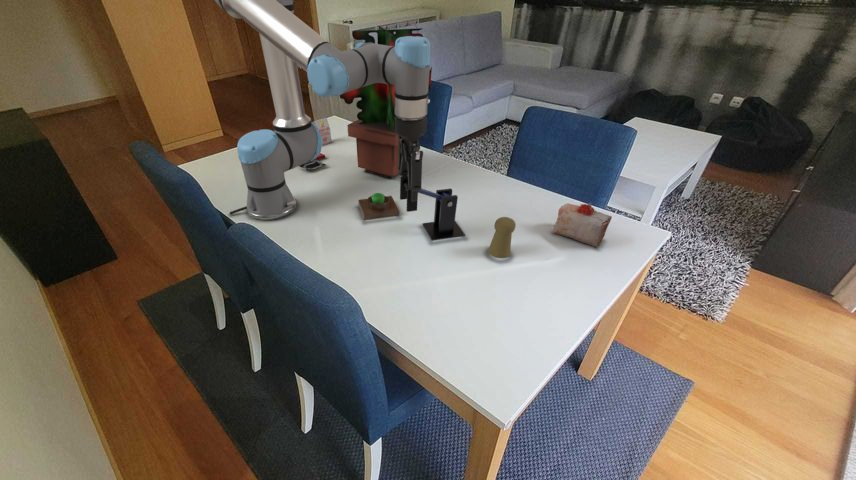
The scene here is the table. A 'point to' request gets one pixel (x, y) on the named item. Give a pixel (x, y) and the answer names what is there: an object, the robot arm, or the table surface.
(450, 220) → the lever bracket
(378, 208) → the switch block
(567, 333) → the table surface
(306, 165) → the red board with handle
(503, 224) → the tan pawn
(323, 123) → the white cardboard box
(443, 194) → the lever
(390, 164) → the potted plant
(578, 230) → the food item
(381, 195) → the green button
